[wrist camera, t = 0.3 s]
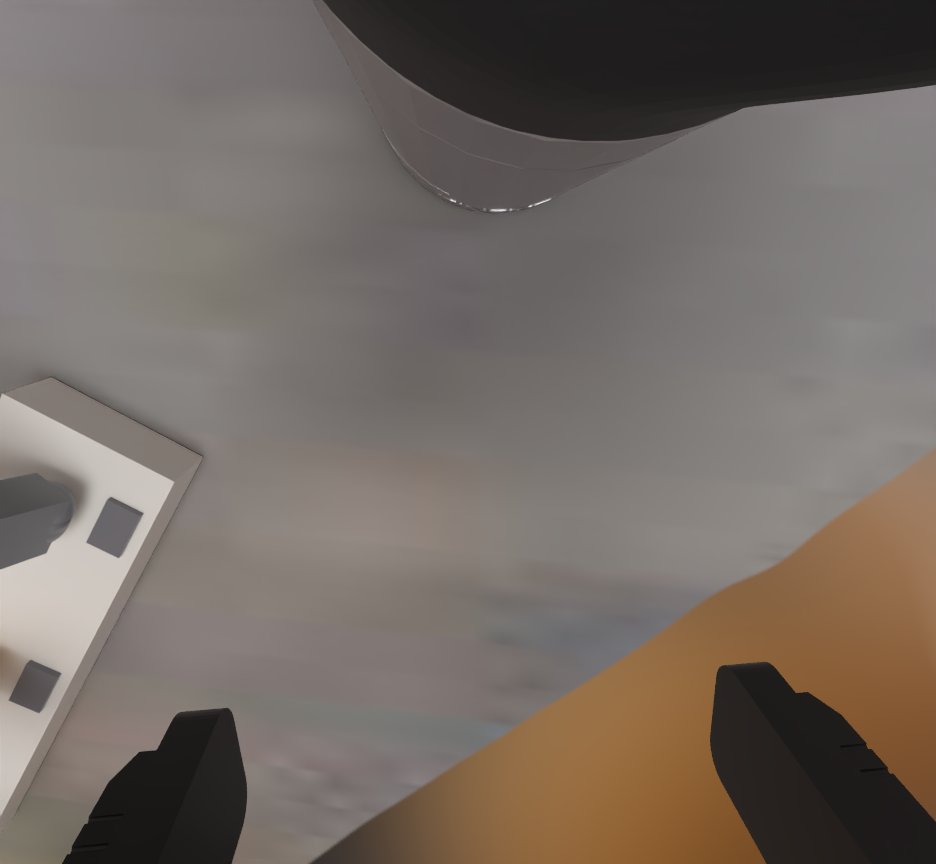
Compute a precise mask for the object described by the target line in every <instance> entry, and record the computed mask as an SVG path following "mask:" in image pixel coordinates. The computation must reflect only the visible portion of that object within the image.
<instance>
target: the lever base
mask: <svg viewBox="0 0 936 864" xmlns="http://www.w3.org/2000/svg"><path fill="white" fill-rule="evenodd" d="M202 459H203V457H202V456H200V455H198V454H196V453H195V452H193V451H191V450H189V449H187V448H185V447H183V446H181V445H179V444H177V443H176V442H174V441H172V440H170V439H168V438H166V437H164V436H162V435H160V434H158V433H157V432H155V431H153V430H151V429H149V428H147V427H145V426H143V425H141V424H139V423H138V422H136V421H134V420H132V419H130V418H128V417H126V416H124V415H122V414H120V413H119V412H117V411H115V410H113V409H111V408H109V407H107V406H105V405H103V404H101V403H100V402H98V401H96V400H94V399H92V398H90V397H88V396H86V395H84V394H82V393H81V392H79V391H77V390H75V389H73V388H71V387H69V386H67V385H65V384H63V383H62V382H60V381H58V380H56V379H54V378H52V377H51V378H48V379H45V380H42V381H39V382H36V383H33V384H29V385H26V386H23V387H20V388H17V389H14V390H11V391H8V392H5V393H2V395H1V398H0V480H3V479H8V478H13V477H18V476H23V475H28V474H32V473H38V474H39V475H40V476H42V477H43V478H44V479H46V480H47V481H53V482H57V483H60V484H62V485H64V486H65V487H66V488H68V489H69V490H70V491H71V493H72V494H73V496H74V498H75V502H76V508H75V512H74V515H73V517H72V519H71V521H70V524H69V526H68V528H67V529H66V531H65V532H64V534H63V535H62V536H61V537H60V538H58V539H57V540H55V541H53V542H52V543H51V545H50V547H49V549H48V551H47V553H46V554H43V555H40V556H37V557H35V558H32V559H29V560H26V561H23V562H20V563H18V564H15V565H12V566H9V567H6V568H3V569H1V570H0V833H1V832H2V831H3V829H4V828H5V827H6V825H7V824H8V823H9V822H10V820H11V819H12V818H13V816H14V815H15V813H16V811H17V809H18V807H19V805H20V804H21V802H22V800H23V798H24V796H25V794H26V792H27V790H28V788H29V787H30V785H31V783H32V781H33V779H34V777H35V775H36V773H37V771H38V769H39V768H40V766H41V764H42V762H43V760H44V758H45V756H46V754H47V752H48V751H49V749H50V747H51V745H52V743H53V741H54V739H55V737H56V735H57V733H58V732H59V730H60V728H61V726H62V724H63V722H64V720H65V718H66V716H67V715H68V713H69V711H70V709H71V707H72V705H73V703H74V701H75V699H76V697H77V696H78V694H79V692H80V690H81V688H82V686H83V684H84V682H85V680H86V679H87V677H88V675H89V673H90V671H91V669H92V667H93V665H94V663H95V661H96V660H97V658H98V656H99V654H100V652H101V650H102V648H103V646H104V644H105V643H106V641H107V639H108V637H109V635H110V633H111V631H112V629H113V627H114V625H115V624H116V622H117V620H118V618H119V616H120V614H121V612H122V610H123V608H124V607H125V605H126V603H127V601H128V599H129V597H130V595H131V593H132V591H133V589H134V588H135V586H136V584H137V582H138V580H139V578H140V576H141V574H142V572H143V571H144V569H145V567H146V565H147V563H148V561H149V559H150V557H151V555H152V553H153V552H154V550H155V548H156V546H157V544H158V542H159V540H160V538H161V536H162V535H163V533H164V531H165V529H166V527H167V525H168V523H169V521H170V519H171V518H172V516H173V514H174V512H175V510H176V508H177V506H178V504H179V502H180V500H181V499H182V497H183V495H184V493H185V491H186V489H187V487H188V485H189V483H190V482H191V480H192V478H193V476H194V474H195V472H196V470H197V468H198V466H199V464H200V463H201V461H202Z"/></svg>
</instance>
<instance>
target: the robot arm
mask: <svg viewBox="0 0 936 864" xmlns="http://www.w3.org/2000/svg"><path fill="white" fill-rule="evenodd" d="M313 2H314V4H315V5H316V7H317V9H318V11H319V13H320V15H321V17H322V18H323V20H324V22H325V24H326V26H327V28H328V29H329V31H330V33H331V35H332V37H333V39H334V40H335V41H336V43H337V44H338V46H339V48H340V50H341V52H342V54H343V56H344V58H345V60H346V61H347V63H348V65H349V67H350V69H351V71H352V73H353V75H354V77H355V79H356V80H357V82H358V84H359V86H360V88H361V90H362V92H363V94H364V96H365V97H366V99H367V101H368V103H369V105H370V107H371V109H372V111H373V113H374V114H375V116H376V118H377V120H378V122H379V124H380V126H381V128H382V130H383V132H384V134H385V136H386V137H387V139H388V141H389V143H390V145H391V146H392V148H393V150H394V151H395V153H396V154H397V156H398V157H399V159H400V160H401V162H402V164H403V165H404V167H405V168H406V169H407V170H408V171H409V172H410V173H411V174H412V175H413V176H414V177H415V178H416V179H417V180H418V181H419V182H420V184H421V185H422V186H423V187H425V188H426V189H428V190H429V191H431V192H432V193H434V194H435V195H437V196H438V197H440V198H441V199H443V200H444V201H447V202H450V203H452V204H455V205H457V206H460V207H462V208H465V209H468V210H475V211H481V212H488V213H496V212H509V211H517V210H522V209H525V208H529V207H533V206H536V205H538V204H541V203H544V202H546V201H549V200H551V199H553V197H555V196H557V195H559V194H561V193H563V192H565V191H568V190H570V189H572V188H574V187H576V186H578V185H580V184H582V183H585V182H587V181H589V180H591V179H593V178H595V177H597V176H599V175H602V174H604V173H606V172H608V171H610V170H612V169H614V168H616V167H619V166H621V165H623V164H625V163H627V162H629V161H631V160H633V159H636V158H638V157H640V156H642V155H644V154H646V153H648V152H650V151H653V150H655V149H657V148H659V147H661V146H663V145H665V144H667V143H670V142H672V141H674V140H676V139H678V138H679V137H681V136H683V135H686V134H688V133H690V132H692V131H694V130H696V129H698V128H701V127H703V126H705V125H707V124H709V123H711V122H713V121H715V120H718V119H720V118H722V117H724V116H726V115H728V114H731V113H733V112H736V111H738V110H740V109H742V108H746V107H752V106H760V105H768V104H777V103H786V102H796V101H805V100H814V99H824V98H833V97H842V96H852V95H861V94H870V93H878V92H885V91H893V90H901V89H909V88H917V87H924V86H931V85H936V0H313ZM710 745H711V752H712V757H713V762H714V765H715V768H716V771H717V773H718V776H719V778H720V780H721V782H722V784H723V786H724V788H725V789H726V791H727V793H728V795H729V797H730V798H731V800H732V802H733V804H734V806H735V807H736V809H737V811H738V813H739V815H740V817H741V818H742V820H743V822H744V824H745V826H746V827H747V829H748V831H749V833H750V835H751V836H752V838H753V840H754V842H755V844H756V845H757V847H758V849H759V850H760V853H761V854H762V856H763V858H764V860H765V862H766V863H767V864H936V822H935V821H934V819H933V818H932V817H931V816H930V815H929V814H928V813H927V811H926V810H925V809H924V808H923V807H922V806H921V805H920V804H919V802H918V801H917V800H916V799H915V798H914V797H913V796H912V795H911V793H910V792H909V791H908V790H907V789H906V788H905V787H904V785H903V784H902V783H901V782H900V781H899V780H898V779H897V778H896V776H895V775H894V774H890V773H889V772H888V767H887V766H886V765H885V764H884V763H883V762H882V760H881V759H880V758H879V757H878V756H877V755H876V754H875V753H874V751H873V750H872V749H868V748H867V746H866V742H865V741H864V740H863V739H862V738H861V737H860V736H859V734H858V733H857V732H856V731H855V730H854V729H853V728H852V727H851V725H850V724H849V723H848V722H847V721H846V720H845V719H844V718H843V716H842V715H841V714H839V713H838V712H836V711H834V710H833V709H832V708H830V707H829V706H827V705H826V704H825V703H823V702H822V701H820V700H819V699H817V698H816V697H814V696H813V695H811V694H810V693H808V692H803V693H795V691H794V690H793V689H792V688H791V687H790V685H789V684H788V683H787V682H786V681H785V679H784V678H783V677H782V676H781V675H780V673H779V672H778V671H777V670H776V668H775V667H774V666H773V665H771V664H770V663H768V662H757V663H746V664H736V665H724V666H721V667H720V668H719V669H718V672H717V677H716V685H715V695H714V705H713V715H712V724H711V735H710ZM246 804H247V782H246V776H245V771H244V767H243V762H242V757H241V752H240V747H239V742H238V737H237V732H236V727H235V722H234V718H233V714H232V712H231V710H230V709H229V708H221V709H210V710H199V711H187V712H180V713H178V714H177V715H176V716H175V717H174V718H173V720H172V722H171V724H170V726H169V728H168V730H167V731H166V733H165V735H164V737H163V739H162V741H161V743H160V745H159V747H158V749H157V750H155V751H144V752H139V753H138V754H137V755H136V756H135V757H134V758H133V759H132V760H131V761H130V762H129V763H128V764H127V765H126V766H125V767H124V768H123V769H122V770H121V771H120V772H119V773H118V774H117V775H116V776H115V777H114V778H113V779H112V780H110V781H109V783H108V784H107V786H106V788H105V790H104V791H103V793H102V795H101V797H100V798H99V800H98V802H97V804H96V805H95V807H94V809H93V811H92V812H91V814H90V816H89V821H88V824H84V826H83V828H82V830H81V831H80V833H79V835H78V837H77V838H76V840H75V842H74V844H73V845H72V851H71V854H68V855H67V856H66V858H65V859H64V861H63V863H62V864H232V860H233V857H234V854H235V850H236V847H237V844H238V840H239V837H240V834H241V830H242V827H243V823H244V819H245V813H246Z"/></svg>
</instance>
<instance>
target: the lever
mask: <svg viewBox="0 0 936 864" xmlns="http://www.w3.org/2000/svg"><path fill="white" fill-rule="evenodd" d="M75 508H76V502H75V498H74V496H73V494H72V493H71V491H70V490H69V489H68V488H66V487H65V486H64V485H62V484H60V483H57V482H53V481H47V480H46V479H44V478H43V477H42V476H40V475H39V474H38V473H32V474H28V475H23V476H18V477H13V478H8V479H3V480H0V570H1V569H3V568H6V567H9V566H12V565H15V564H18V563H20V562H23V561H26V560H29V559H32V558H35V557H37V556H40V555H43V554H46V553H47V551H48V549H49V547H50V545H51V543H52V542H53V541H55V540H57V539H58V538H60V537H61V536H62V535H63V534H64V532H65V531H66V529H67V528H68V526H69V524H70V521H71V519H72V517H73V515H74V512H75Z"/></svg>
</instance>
